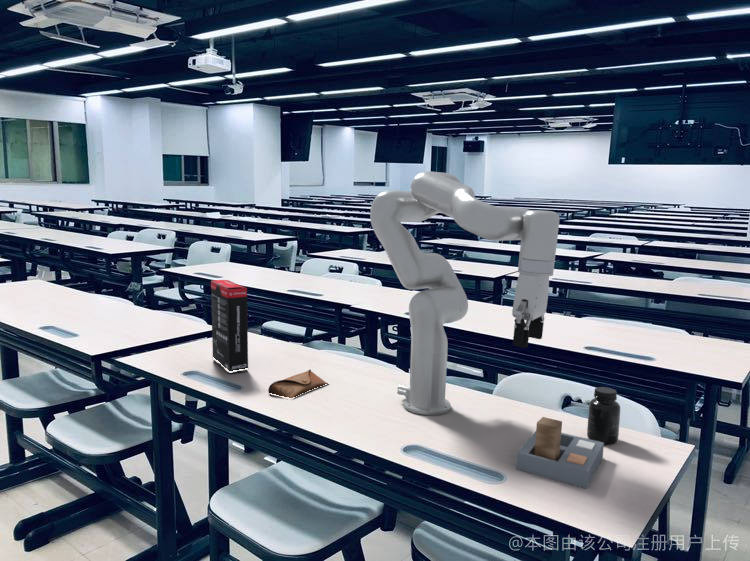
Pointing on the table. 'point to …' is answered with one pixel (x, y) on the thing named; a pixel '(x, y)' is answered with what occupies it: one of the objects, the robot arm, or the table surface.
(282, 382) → the sunglasses case
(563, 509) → the table surface
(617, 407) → the supplement bottle
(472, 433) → the table surface
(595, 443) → the socket block
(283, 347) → the table surface
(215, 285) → the graphics card box
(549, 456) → the plug
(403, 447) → the table surface
